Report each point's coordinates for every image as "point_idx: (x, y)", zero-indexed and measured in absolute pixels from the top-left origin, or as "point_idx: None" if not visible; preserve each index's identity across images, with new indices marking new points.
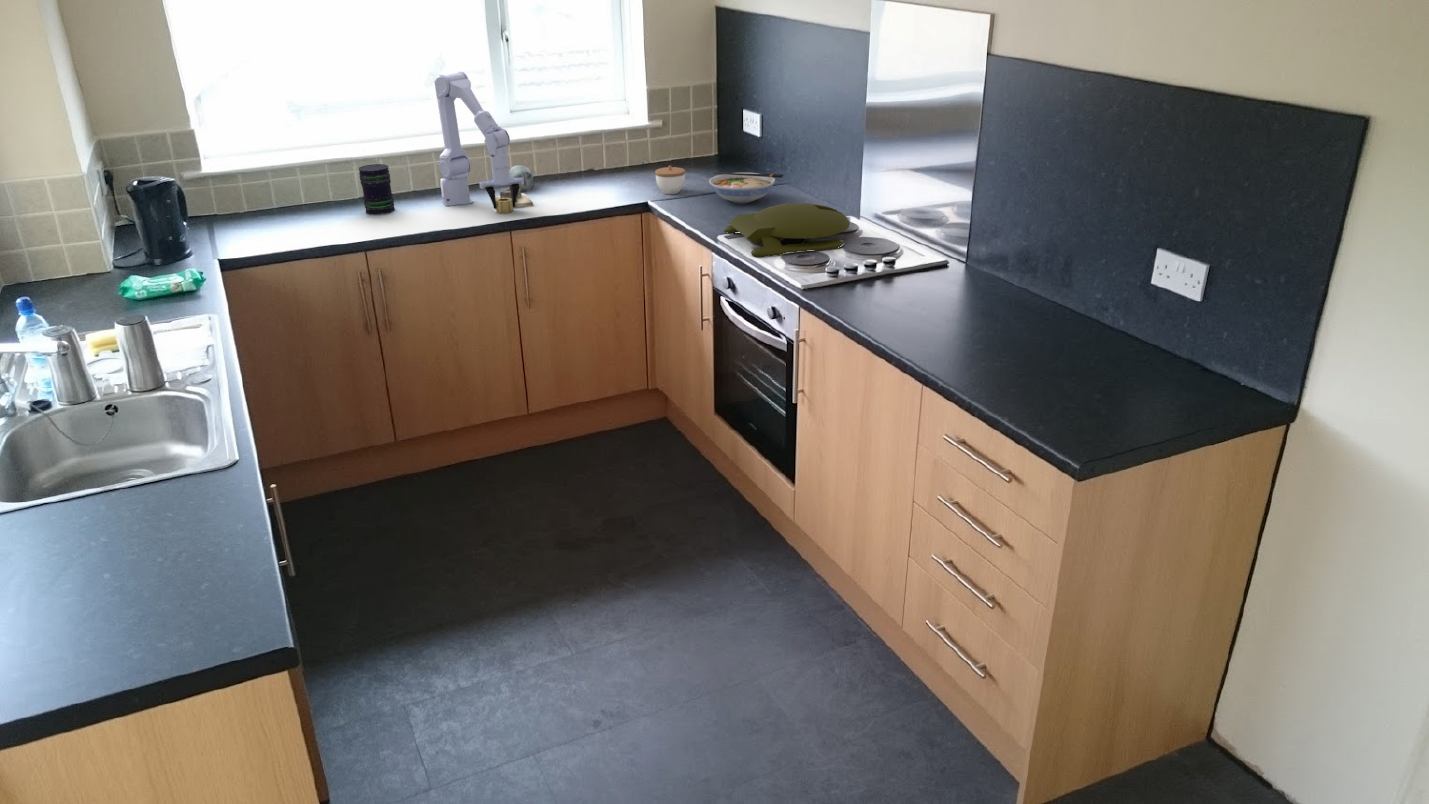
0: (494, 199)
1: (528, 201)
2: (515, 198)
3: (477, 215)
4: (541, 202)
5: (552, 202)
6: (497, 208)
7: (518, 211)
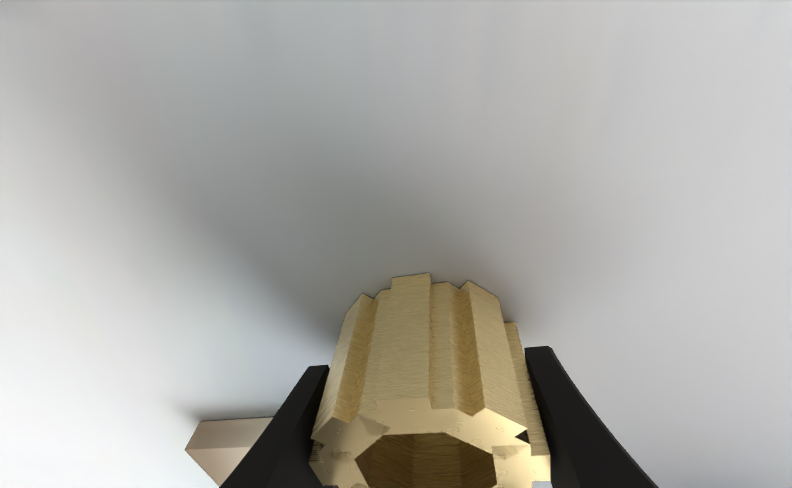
0: (593, 468)
1: (227, 467)
2: (249, 457)
3: (772, 280)
4: (165, 459)
5: (84, 443)
6: (512, 360)
7: (287, 310)
